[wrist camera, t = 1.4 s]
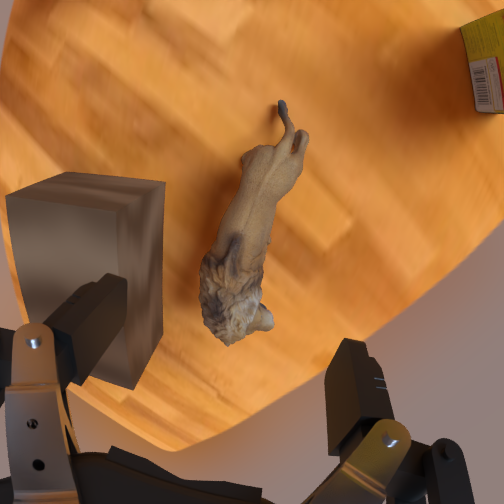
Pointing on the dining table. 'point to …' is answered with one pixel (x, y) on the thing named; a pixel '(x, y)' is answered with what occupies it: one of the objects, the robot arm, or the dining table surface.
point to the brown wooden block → (94, 255)
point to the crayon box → (486, 61)
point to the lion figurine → (248, 238)
